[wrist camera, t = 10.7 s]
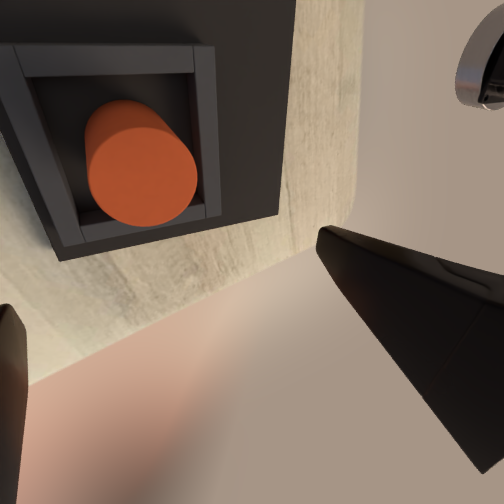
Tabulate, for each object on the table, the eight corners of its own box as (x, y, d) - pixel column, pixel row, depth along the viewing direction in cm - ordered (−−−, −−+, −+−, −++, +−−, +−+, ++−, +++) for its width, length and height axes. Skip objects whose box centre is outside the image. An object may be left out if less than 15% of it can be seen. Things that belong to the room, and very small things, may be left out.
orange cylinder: (164, 96, 15) (193, 121, 11) (174, 175, 17) (201, 217, 14) (72, 101, 13) (71, 132, 10) (97, 186, 16) (104, 236, 12)
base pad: (286, 0, 16) (314, -3, 14) (272, 208, 23) (288, 225, 21) (-60, -22, 11) (-88, -30, 9) (59, 252, 18) (58, 278, 16)
